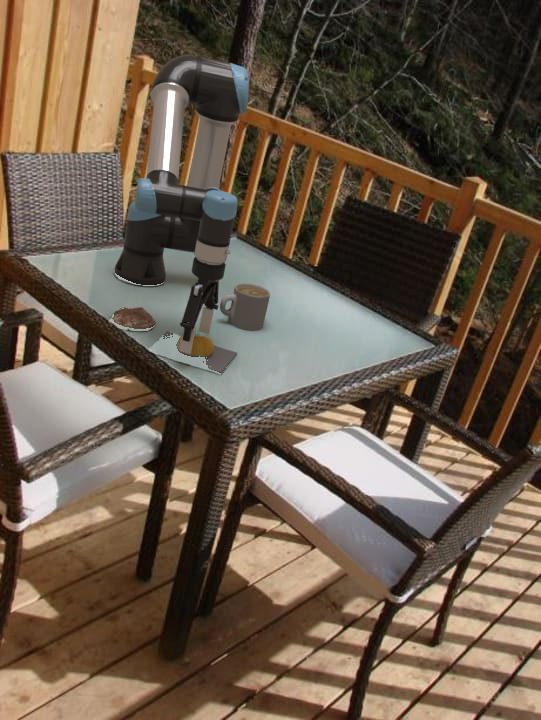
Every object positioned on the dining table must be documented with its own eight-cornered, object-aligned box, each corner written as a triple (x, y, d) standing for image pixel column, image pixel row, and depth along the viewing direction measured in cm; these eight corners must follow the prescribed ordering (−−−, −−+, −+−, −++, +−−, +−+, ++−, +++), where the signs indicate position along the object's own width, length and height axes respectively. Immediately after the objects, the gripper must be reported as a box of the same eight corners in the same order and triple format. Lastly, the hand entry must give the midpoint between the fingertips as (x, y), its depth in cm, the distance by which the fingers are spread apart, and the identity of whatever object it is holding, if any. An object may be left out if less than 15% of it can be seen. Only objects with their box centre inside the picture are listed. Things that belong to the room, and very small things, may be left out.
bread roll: (216, 359, 174) (219, 344, 172) (181, 358, 170) (183, 343, 169) (207, 343, 181) (210, 329, 179) (172, 342, 177) (175, 327, 175)
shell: (162, 321, 190) (164, 309, 189) (144, 338, 179) (146, 325, 177) (122, 309, 191) (123, 297, 190) (101, 325, 180) (103, 312, 178)
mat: (146, 352, 171) (146, 349, 171) (166, 333, 183) (167, 331, 182) (221, 375, 168) (221, 372, 168) (236, 355, 180) (237, 352, 180)
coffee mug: (259, 318, 206) (266, 285, 202) (266, 332, 197) (273, 299, 193) (213, 312, 202) (219, 279, 198) (218, 327, 193) (225, 293, 189)
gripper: (208, 278, 154) (191, 365, 162) (240, 251, 176) (224, 329, 185) (175, 268, 155) (161, 356, 163) (211, 243, 177) (197, 321, 186)
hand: (194, 342), depth 174 cm, fingers open, 13 cm apart
